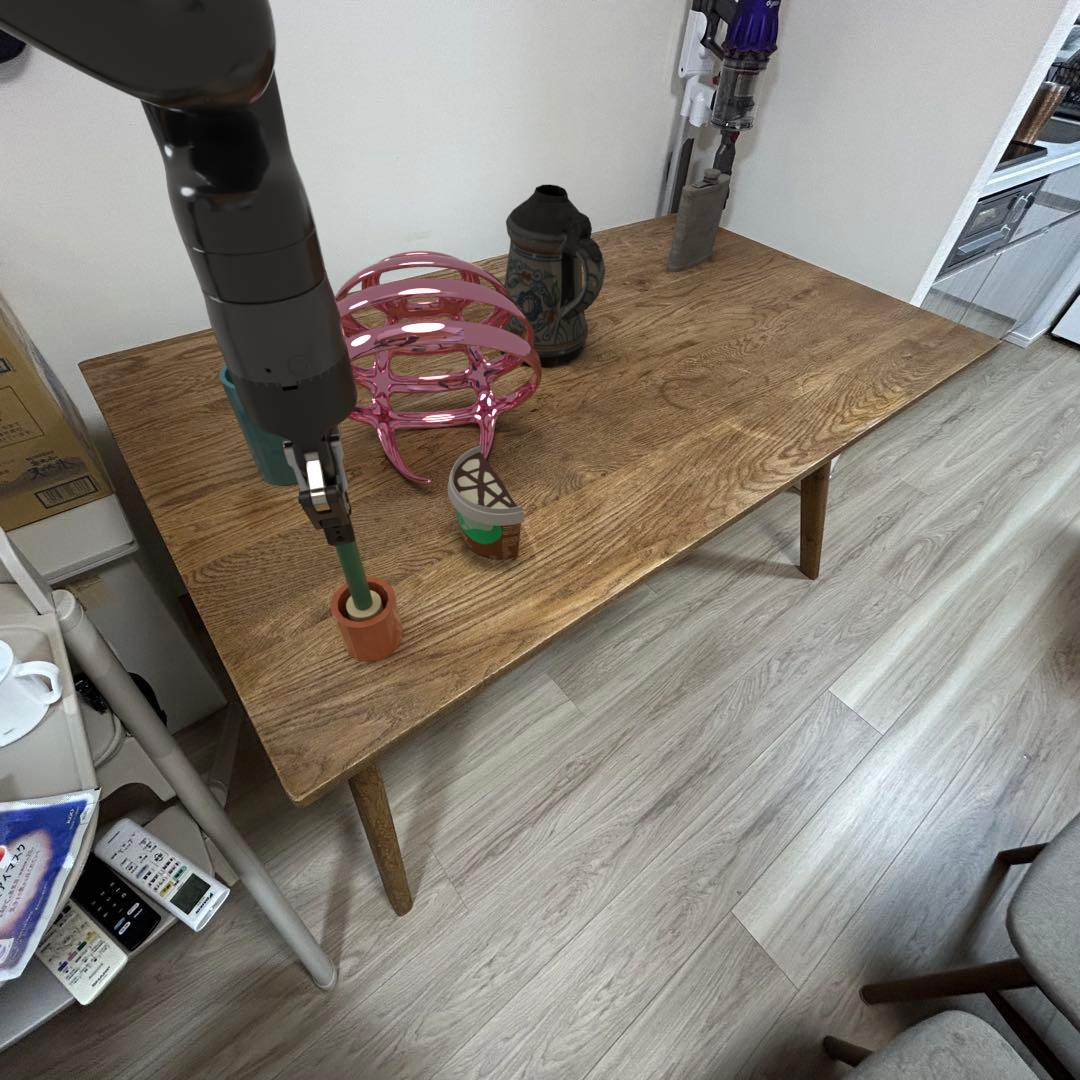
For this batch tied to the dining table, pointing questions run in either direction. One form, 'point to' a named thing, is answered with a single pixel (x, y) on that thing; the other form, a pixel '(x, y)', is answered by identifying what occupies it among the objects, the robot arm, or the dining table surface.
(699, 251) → the flask
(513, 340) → the spiral basket
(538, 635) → the dining table surface
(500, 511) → the food container
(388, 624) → the cup
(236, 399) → the teal cylindrical cup
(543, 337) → the beer stein
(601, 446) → the dining table surface
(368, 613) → the bottle brush
